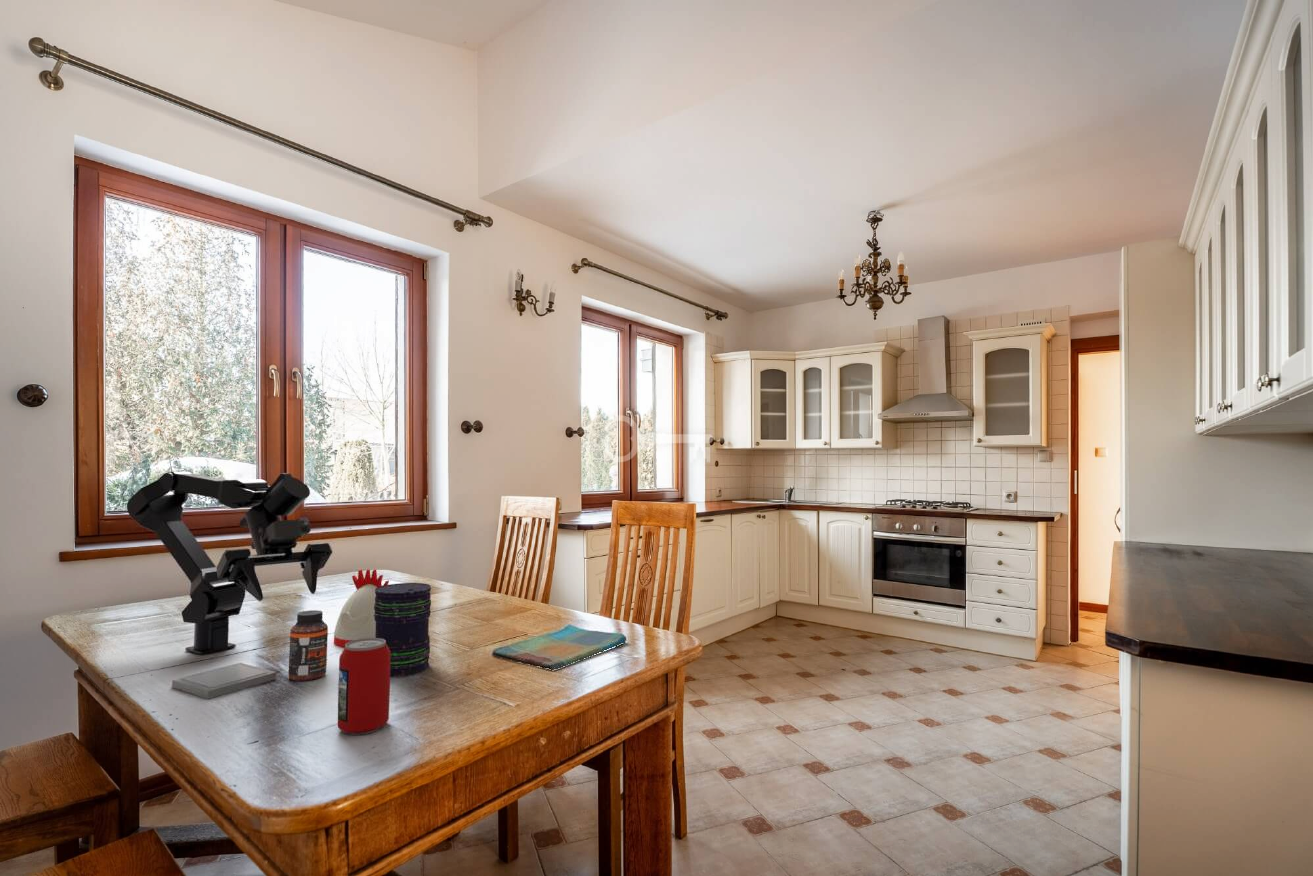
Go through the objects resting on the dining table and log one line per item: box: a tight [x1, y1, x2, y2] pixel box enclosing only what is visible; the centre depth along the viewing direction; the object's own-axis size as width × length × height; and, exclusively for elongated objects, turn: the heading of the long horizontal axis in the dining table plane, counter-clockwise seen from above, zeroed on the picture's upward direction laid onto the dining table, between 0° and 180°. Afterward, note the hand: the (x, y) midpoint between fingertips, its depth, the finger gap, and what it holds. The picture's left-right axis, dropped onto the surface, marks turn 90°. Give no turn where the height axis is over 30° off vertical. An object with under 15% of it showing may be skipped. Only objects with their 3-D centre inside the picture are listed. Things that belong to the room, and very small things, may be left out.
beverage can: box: [337, 638, 391, 735], centre depth 92 cm, size 7×7×12 cm
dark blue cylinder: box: [374, 582, 432, 679], centre depth 119 cm, size 10×10×15 cm
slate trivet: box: [171, 662, 277, 700], centre depth 110 cm, size 11×11×1 cm
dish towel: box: [491, 623, 627, 670], centre depth 132 cm, size 17×23×2 cm
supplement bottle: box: [288, 609, 329, 682], centre depth 114 cm, size 6×6×11 cm
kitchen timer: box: [333, 569, 390, 648], centre depth 139 cm, size 14×14×15 cm
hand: (288, 595), depth 120 cm, fingers open, 9 cm apart
